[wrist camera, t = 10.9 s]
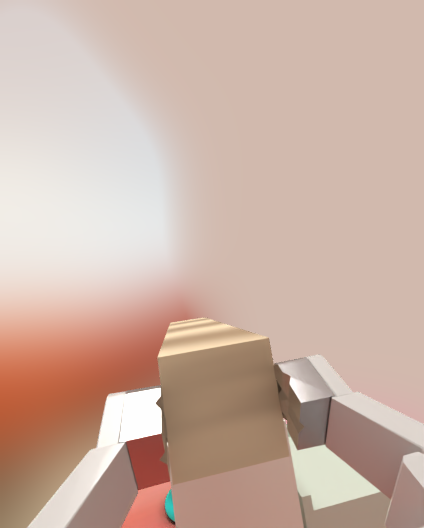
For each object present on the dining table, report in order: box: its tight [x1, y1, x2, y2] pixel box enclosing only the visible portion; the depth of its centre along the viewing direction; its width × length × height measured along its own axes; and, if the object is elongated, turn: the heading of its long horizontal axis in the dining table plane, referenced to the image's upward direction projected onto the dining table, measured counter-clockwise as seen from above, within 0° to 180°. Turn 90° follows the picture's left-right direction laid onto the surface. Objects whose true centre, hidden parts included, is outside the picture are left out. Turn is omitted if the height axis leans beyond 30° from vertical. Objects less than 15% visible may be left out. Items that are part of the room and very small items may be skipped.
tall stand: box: [167, 419, 304, 528], centre depth 32 cm, size 14×12×26 cm
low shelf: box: [286, 424, 391, 528], centre depth 37 cm, size 16×10×18 cm, turn 8°
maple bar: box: [158, 318, 289, 485], centre depth 18 cm, size 20×4×4 cm, turn 7°
